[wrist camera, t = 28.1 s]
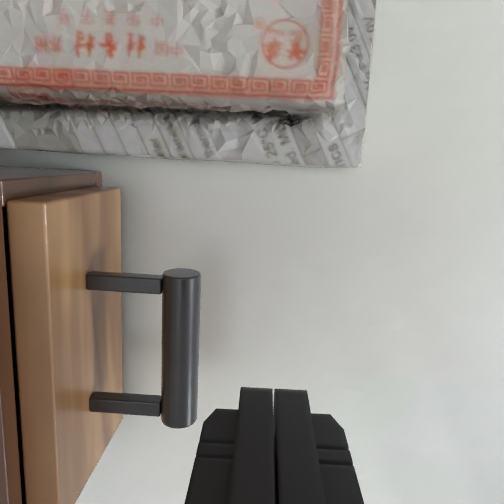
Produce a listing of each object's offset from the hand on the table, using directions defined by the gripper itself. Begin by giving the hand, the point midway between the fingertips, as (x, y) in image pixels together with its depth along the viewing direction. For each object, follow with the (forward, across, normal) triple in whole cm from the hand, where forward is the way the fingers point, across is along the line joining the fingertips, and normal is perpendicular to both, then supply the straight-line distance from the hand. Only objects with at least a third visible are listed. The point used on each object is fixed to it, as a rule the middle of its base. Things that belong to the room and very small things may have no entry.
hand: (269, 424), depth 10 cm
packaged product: (+12, +5, -10) cm, 17 cm away
